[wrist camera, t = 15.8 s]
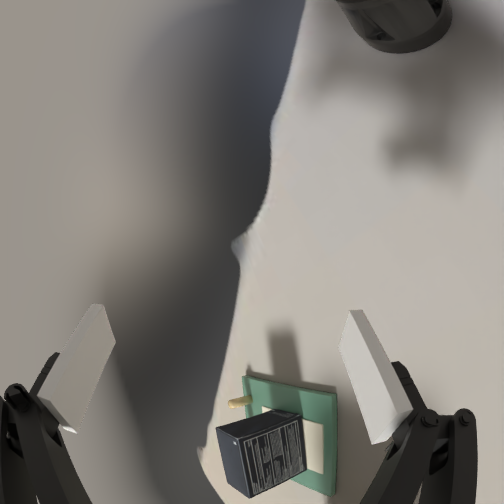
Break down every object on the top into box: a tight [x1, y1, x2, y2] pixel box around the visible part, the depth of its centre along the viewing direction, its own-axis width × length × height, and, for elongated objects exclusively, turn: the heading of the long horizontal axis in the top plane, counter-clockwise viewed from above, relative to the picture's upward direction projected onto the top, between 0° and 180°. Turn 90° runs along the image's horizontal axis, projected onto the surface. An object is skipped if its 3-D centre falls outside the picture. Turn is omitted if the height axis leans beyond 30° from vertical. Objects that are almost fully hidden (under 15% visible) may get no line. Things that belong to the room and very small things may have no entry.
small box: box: [216, 409, 307, 498], centre depth 31 cm, size 11×6×10 cm, turn 14°
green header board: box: [228, 375, 337, 497], centre depth 35 cm, size 18×20×5 cm
